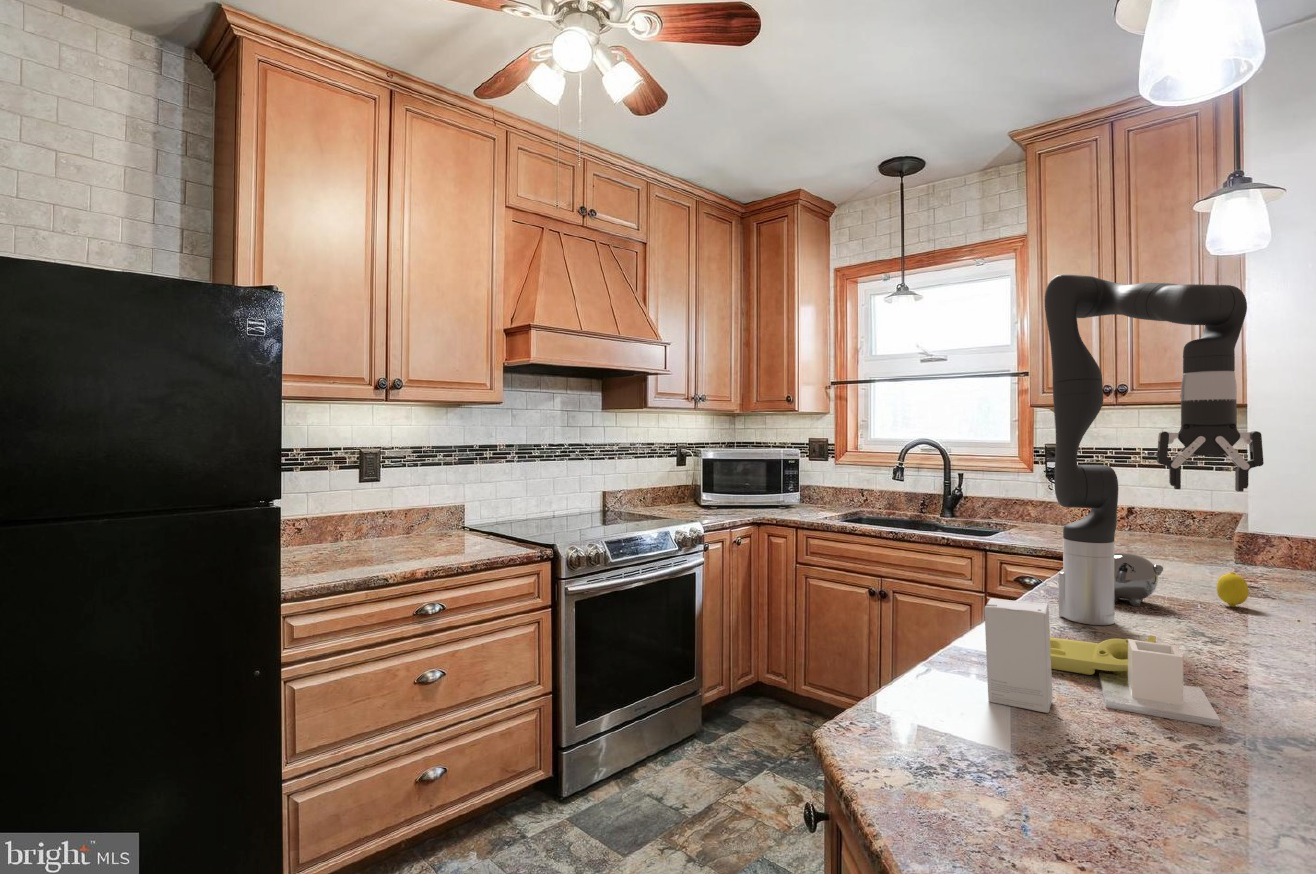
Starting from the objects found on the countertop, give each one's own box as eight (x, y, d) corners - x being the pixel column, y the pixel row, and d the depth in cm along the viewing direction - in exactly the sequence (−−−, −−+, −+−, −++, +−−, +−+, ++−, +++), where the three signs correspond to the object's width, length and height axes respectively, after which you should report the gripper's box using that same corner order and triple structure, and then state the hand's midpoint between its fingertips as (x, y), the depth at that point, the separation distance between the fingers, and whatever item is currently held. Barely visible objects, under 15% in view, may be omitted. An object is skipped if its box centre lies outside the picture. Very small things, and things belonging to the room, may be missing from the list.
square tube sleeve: (1132, 697, 98) (1132, 650, 98) (1127, 683, 103) (1127, 639, 103) (1183, 705, 95) (1183, 657, 95) (1176, 691, 100) (1176, 645, 100)
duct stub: (1105, 707, 97) (1105, 666, 97) (1099, 678, 108) (1099, 642, 108) (1220, 727, 90) (1220, 683, 90) (1200, 694, 101) (1201, 655, 101)
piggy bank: (1090, 592, 165) (1090, 546, 165) (1165, 602, 155) (1165, 553, 155) (1081, 600, 157) (1081, 552, 157) (1160, 612, 147) (1160, 560, 147)
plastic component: (1011, 650, 115) (1025, 615, 122) (1020, 683, 117) (1033, 647, 124) (1150, 670, 101) (1157, 629, 108) (1158, 707, 103) (1164, 665, 110)
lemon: (1215, 602, 154) (1215, 568, 154) (1246, 606, 151) (1246, 571, 151) (1217, 607, 150) (1217, 572, 150) (1250, 611, 147) (1250, 575, 147)
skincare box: (1052, 701, 99) (1052, 603, 99) (1048, 716, 94) (1048, 612, 94) (990, 689, 104) (990, 595, 104) (984, 702, 99) (984, 603, 99)
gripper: (1160, 398, 116) (1160, 490, 116) (1268, 396, 109) (1267, 494, 109) (1154, 400, 123) (1154, 487, 123) (1255, 398, 115) (1255, 490, 116)
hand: (1207, 490), depth 116 cm, fingers open, 8 cm apart
